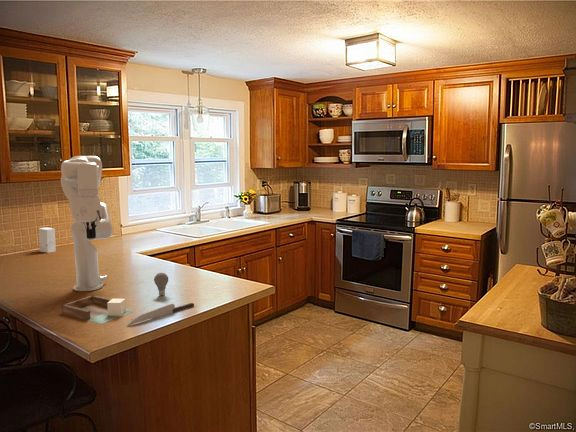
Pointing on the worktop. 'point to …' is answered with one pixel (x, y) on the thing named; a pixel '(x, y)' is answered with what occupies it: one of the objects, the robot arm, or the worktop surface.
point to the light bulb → (161, 282)
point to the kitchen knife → (159, 312)
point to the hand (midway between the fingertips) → (91, 238)
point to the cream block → (116, 307)
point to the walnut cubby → (90, 309)
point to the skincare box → (47, 240)
